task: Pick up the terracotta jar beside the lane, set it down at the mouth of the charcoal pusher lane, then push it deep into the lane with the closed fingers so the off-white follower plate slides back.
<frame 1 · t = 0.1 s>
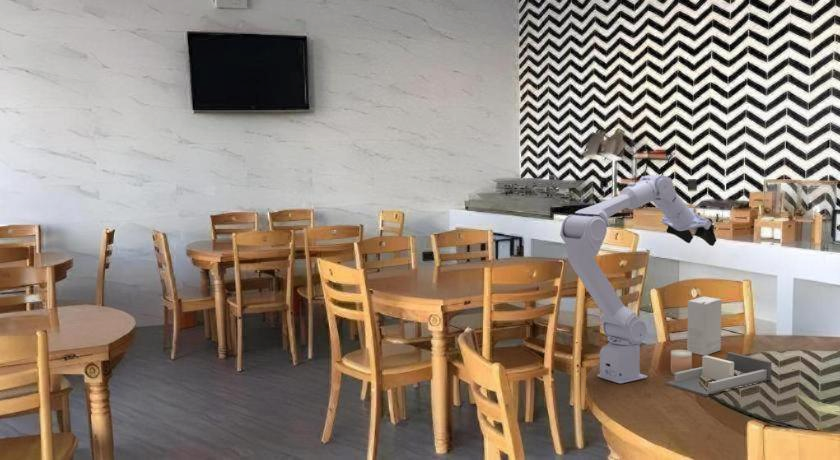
hand: (702, 241, 208), 32 cm above the table, tool tilted 50°, fingers open, 7 cm apart
skincare box: (704, 352, 221), on the table
follower: (717, 369, 191), point 3 cm above the table, slide at 0.0 cm
lane: (718, 382, 191), on the table
jar: (681, 373, 200), on the table
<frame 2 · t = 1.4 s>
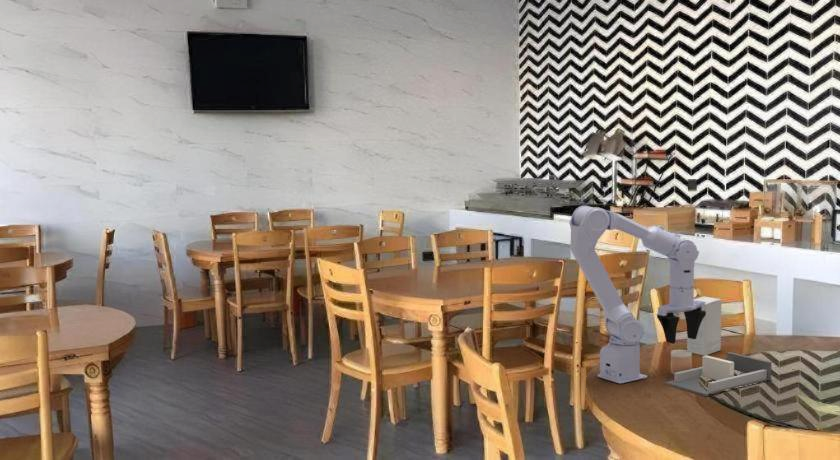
hand: (681, 340, 199), 8 cm above the table, tool pointing down, fingers open, 7 cm apart
nothing on the table moved.
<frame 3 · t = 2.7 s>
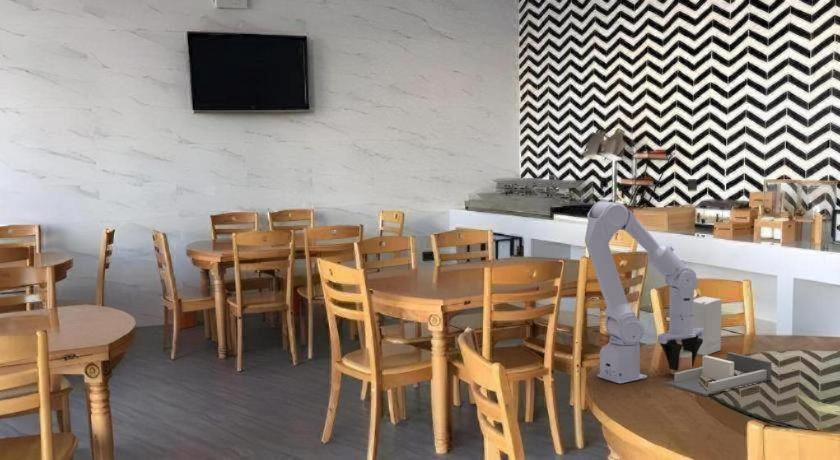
hand: (681, 367, 200), 1 cm above the table, tool pointing down, fingers closed on jar, 5 cm apart
jar: (681, 373, 200), on the table, touching gripper
everything else where it was.
when the fingers open (3 cm above the table, at t = 6.3 s): jar stays where it is, resting on lane.
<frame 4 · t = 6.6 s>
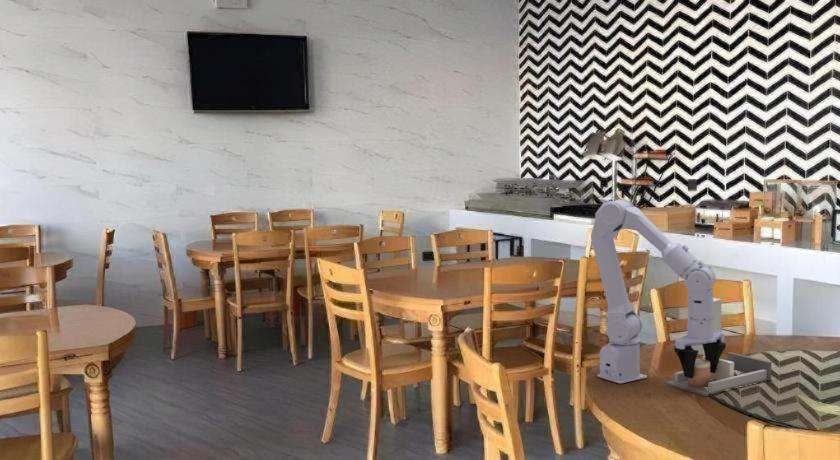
hand: (699, 374, 188), 3 cm above the table, tool pointing down, fingers open, 7 cm apart
jar: (698, 384, 188), point 1 cm above the table, touching lane
everything else where it was.
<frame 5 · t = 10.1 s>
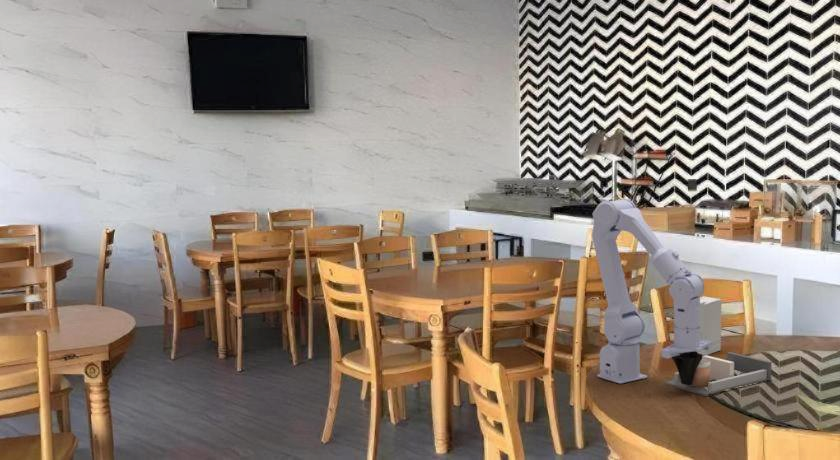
hand: (686, 384, 186), 1 cm above the table, tool pointing down, fingers closed
jar: (698, 384, 188), resting on lane, touching gripper
everything else where it was.
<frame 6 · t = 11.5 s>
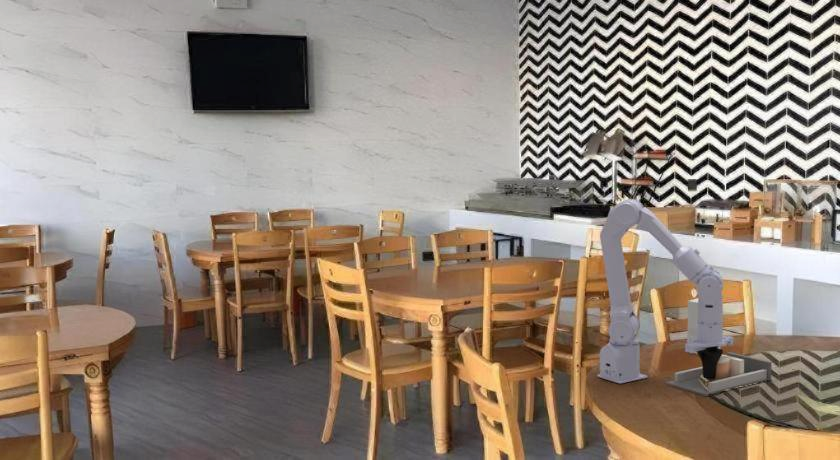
hand: (709, 378, 189), 2 cm above the table, tool pointing down, fingers closed, pressing on jar
follower: (727, 367, 193), point 3 cm above the table, slide at 3.6 cm
jar: (717, 379, 191), point 1 cm above the table, touching gripper
everything else where it was.
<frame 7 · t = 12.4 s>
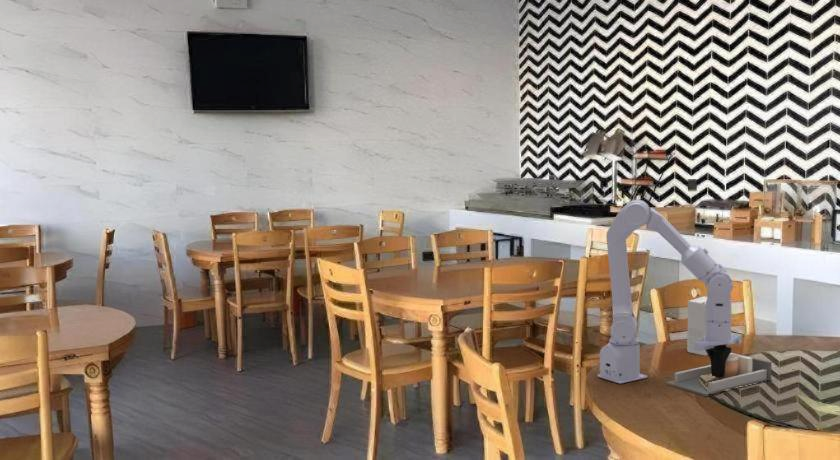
hand: (718, 376, 191), 2 cm above the table, tool pointing down, fingers closed, pressing on jar
follower: (736, 365, 194), point 3 cm above the table, slide at 6.6 cm, touching jar
jar: (726, 377, 193), point 1 cm above the table, touching follower, gripper, lane
everything else where it was.
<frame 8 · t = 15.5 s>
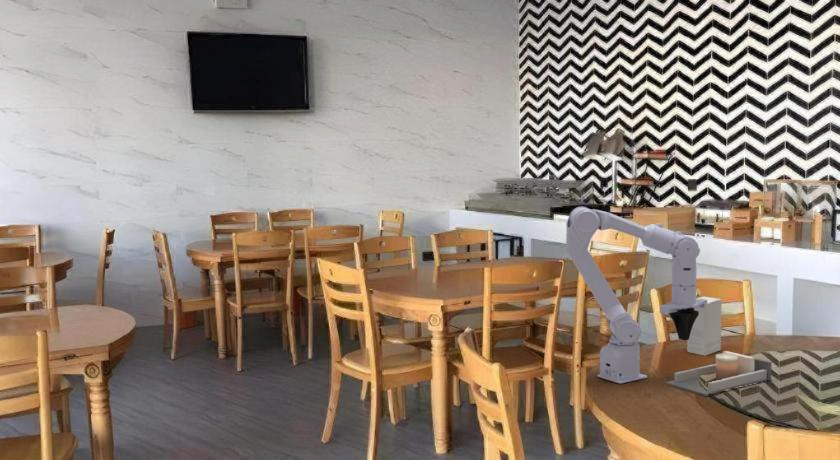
hand: (683, 339, 196), 9 cm above the table, tool pointing down, fingers closed
follower: (738, 364, 195), point 3 cm above the table, slide at 7.4 cm
jar: (726, 378, 193), point 1 cm above the table, touching lane
everything else where it was.
at the end: jar inside the target area on the lane (0.4 cm from its centre), point 0.5 cm above the lane's base; follower slide at 7.4 cm; jar tilted 0° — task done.
